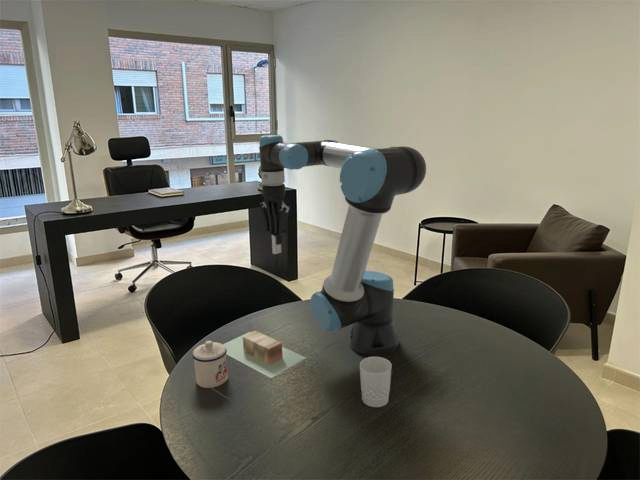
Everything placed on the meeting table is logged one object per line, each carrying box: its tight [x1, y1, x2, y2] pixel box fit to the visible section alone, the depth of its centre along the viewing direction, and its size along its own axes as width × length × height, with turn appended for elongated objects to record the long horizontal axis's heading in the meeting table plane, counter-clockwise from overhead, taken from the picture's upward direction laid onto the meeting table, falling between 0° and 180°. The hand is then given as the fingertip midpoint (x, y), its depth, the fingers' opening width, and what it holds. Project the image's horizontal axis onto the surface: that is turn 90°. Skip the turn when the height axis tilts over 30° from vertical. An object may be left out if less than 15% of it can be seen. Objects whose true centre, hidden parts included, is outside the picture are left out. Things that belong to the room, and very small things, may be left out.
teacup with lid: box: [192, 340, 229, 389], centre depth 127 cm, size 12×9×12 cm
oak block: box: [243, 330, 283, 365], centre depth 139 cm, size 5×5×12 cm
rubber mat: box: [223, 331, 307, 381], centre depth 140 cm, size 26×14×1 cm, turn 48°
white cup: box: [359, 356, 393, 408], centre depth 116 cm, size 8×8×10 cm
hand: (277, 252), depth 157 cm, fingers closed
